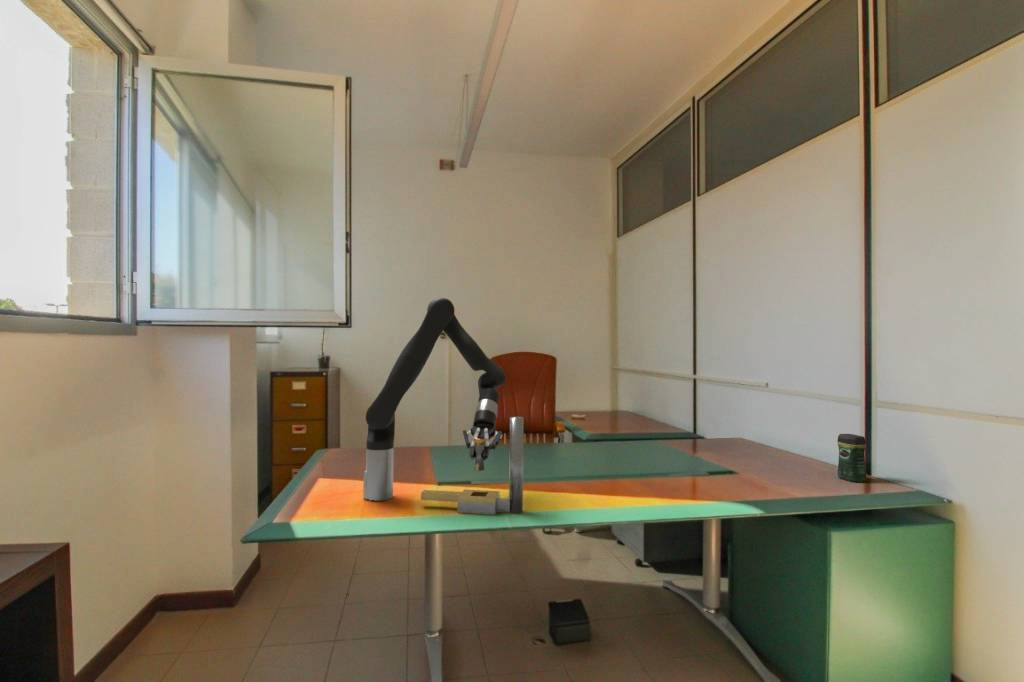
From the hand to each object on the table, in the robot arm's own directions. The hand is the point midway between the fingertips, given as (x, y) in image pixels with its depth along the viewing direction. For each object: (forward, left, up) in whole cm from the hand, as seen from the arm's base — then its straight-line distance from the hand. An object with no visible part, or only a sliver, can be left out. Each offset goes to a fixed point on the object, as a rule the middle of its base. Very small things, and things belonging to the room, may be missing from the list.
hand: (478, 458), depth 162 cm
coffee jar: (+142, +65, -17) cm, 157 cm away
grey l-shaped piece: (-2, +2, -17) cm, 17 cm away
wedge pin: (0, +2, -4) cm, 5 cm away
